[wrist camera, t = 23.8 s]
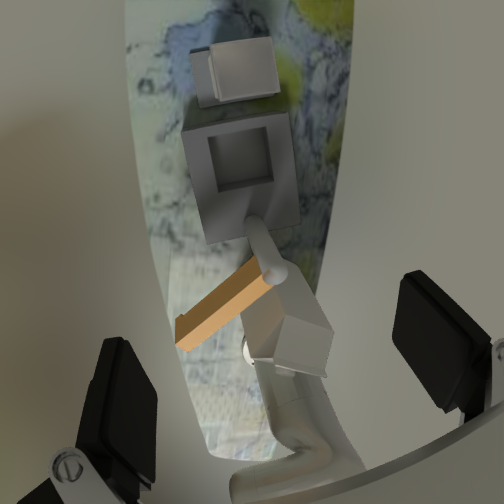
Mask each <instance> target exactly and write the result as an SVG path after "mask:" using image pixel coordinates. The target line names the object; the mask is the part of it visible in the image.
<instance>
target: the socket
mask: <svg viewBox="0 0 504 504" xmlns="http://www.w3.org/2000/svg"><path fill="white" fill-rule="evenodd" d="M181 136H182V141H183V146H184V150H185V155H186V159H187V163H188V168H189V172H190V176H191V181H192V185H193V189H194V194H195V198H196V202H197V206H198V210H199V214H200V218H201V222H202V226H203V230H204V234H205V238H206V242H207V245H209V244H213V243H217V242H222V241H226V240H231V239H235V238H240V237H244V236H247V235H246V232H245V229H244V221H245V219H246V218H247V217H249V216H251V215H257V216H259V217H261V219H262V220H263V222H264V224H265V226H266V228H267V230H268V231H272V230H276V229H281V228H286V227H290V226H295V225H300V224H301V216H300V206H299V197H298V187H297V178H296V169H295V161H294V153H293V145H292V137H291V129H290V122H289V114H288V113H287V112H283V111H274V112H267V113H261V114H254V115H248V116H242V117H237V118H231V119H226V120H221V121H216V122H211V123H206V124H201V125H197V126H192V127H188V128H184V129H182V131H181Z"/></svg>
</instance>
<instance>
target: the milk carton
mask: <svg viewBox="0 0 504 504" xmlns="http://www.w3.org/2000/svg"><path fill="white" fill-rule="evenodd" d="M253 256H254V255H253ZM253 256H252V257H253ZM282 259H283V258H282ZM283 261H284V263H285V265H286V267H287V269H288V276H287V278H286V279H285V280H284V281H283V282H282V283H280V284H278V285H274V286H273V287H272V288H270V289H269V290H268V291H267V292H265V293H264V294H263V295H262V296H260V297H259V298H258V299H257V300H255V301H254V302H253V303H252V304H250V305H249V306H248V307H247V308H245V309H244V310H243V311H242V312H240V315H241V319H242V324H243V328H244V333H245V337H246V342H247V346H248V350H249V354H250V358H252V359H255V360H259V361H262V362H266V363H270V364H274V365H275V366H277V367H276V372H275V373H276V374H278V375H282V376H288V377H294V376H295V371H297V372H301V373H306V374H310V375H315V376H319V377H324V378H327V374H326V372H325V367H326V363H327V359H328V355H329V351H330V347H331V344H332V339H333V335H334V331H333V329H332V327H331V325H330V323H329V322H328V320H327V318H326V316H325V314H324V312H323V311H322V309H321V307H320V305H319V303H318V302H317V300H316V298H315V296H314V294H313V292H312V291H311V289H310V287H309V285H308V283H307V282H306V280H305V278H304V276H303V274H302V273H301V271H300V269H299V267H298V266H297V265H296V264H294V263H292V262H290V261H287V260H285V259H283Z"/></svg>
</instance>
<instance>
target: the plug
mask: <svg viewBox="0 0 504 504" xmlns="http://www.w3.org/2000/svg"><path fill="white" fill-rule="evenodd" d="M209 50H210V55H209V58H208V62H209V67H210V73H211V78H212V83H213V89H214V94H215V98H218V99H219V101H220V102H221V101H226V100H231V99H237V98H243V97H249V96H256V95H263V94H270V93H278V92H280V85H279V79H278V73H277V67H276V61H275V55H274V49H273V43H272V38H271V37H260V38H251V39H243V40H235V41H229V42H222V43H216V44H210V45H209Z"/></svg>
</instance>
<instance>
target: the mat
mask: <svg viewBox="0 0 504 504" xmlns="http://www.w3.org/2000/svg"><path fill="white" fill-rule="evenodd" d="M209 55H210V50H207V51H202V52H197V53H192V54H189V56H190V61H191V67H192V72H193V77H194V83H195V88H196V93H197V98H198V103H199V109H201V108H206V107H211V106H216V105H221V104H226V103H232V102H238V101H244V100H250V99H256V98H263V97H270V96H274V93H270V94H263V95H256V96H249V97H243V98H237V99H231V100H226V101H221V102H220V101H219V99H218V98H215V94H214V89H213V83H212V78H211V73H210V67H209V62H208V58H209Z"/></svg>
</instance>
